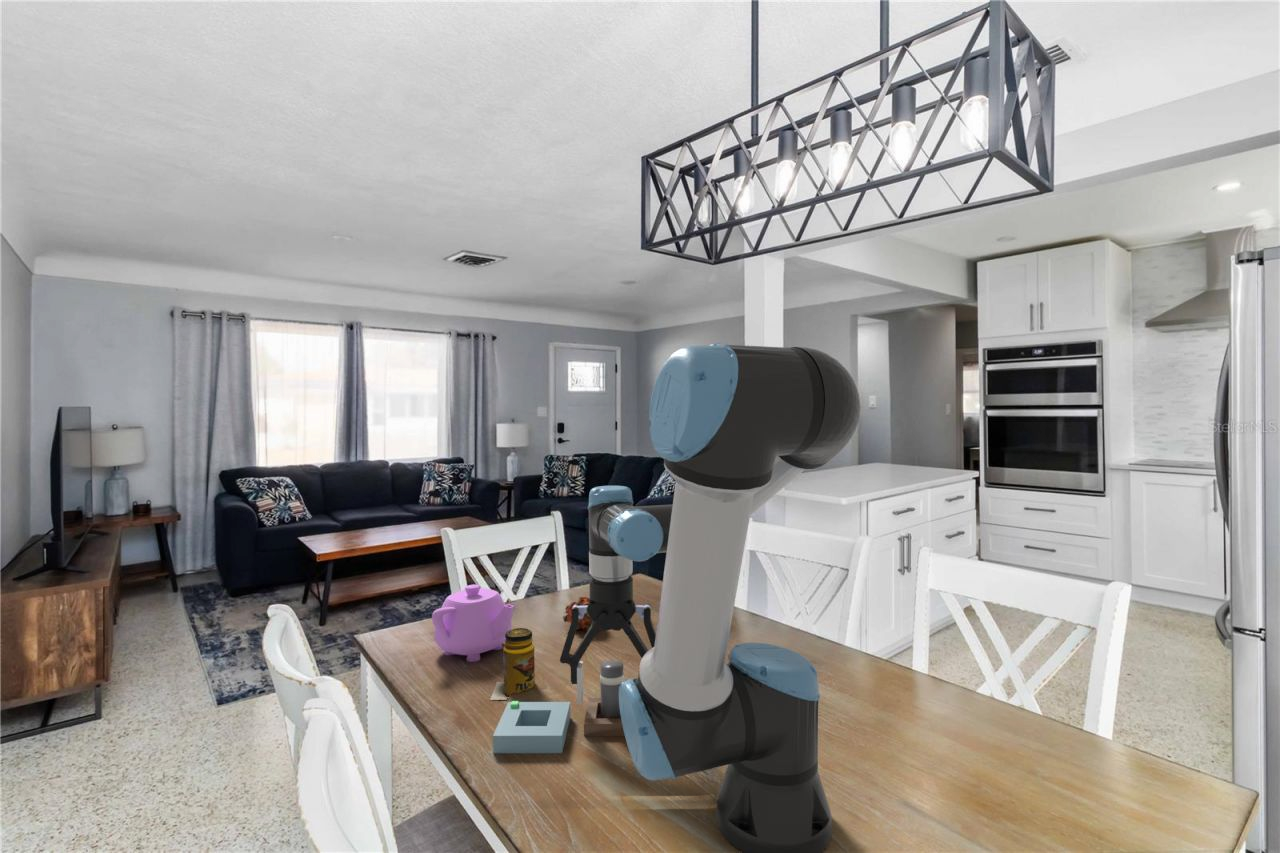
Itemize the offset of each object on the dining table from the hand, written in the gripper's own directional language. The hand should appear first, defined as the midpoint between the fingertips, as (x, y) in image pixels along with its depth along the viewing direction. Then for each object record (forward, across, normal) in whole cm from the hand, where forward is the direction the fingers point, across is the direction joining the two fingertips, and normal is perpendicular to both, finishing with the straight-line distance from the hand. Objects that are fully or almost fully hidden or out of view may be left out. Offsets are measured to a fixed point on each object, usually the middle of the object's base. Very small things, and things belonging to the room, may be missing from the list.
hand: (612, 701), depth 107 cm
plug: (+4, 0, 0) cm, 4 cm away
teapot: (+5, +33, -32) cm, 46 cm away
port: (+5, +13, +4) cm, 14 cm away
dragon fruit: (+5, +10, -48) cm, 49 cm away
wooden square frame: (+5, 0, 0) cm, 5 cm away
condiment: (+5, +20, -14) cm, 25 cm away
